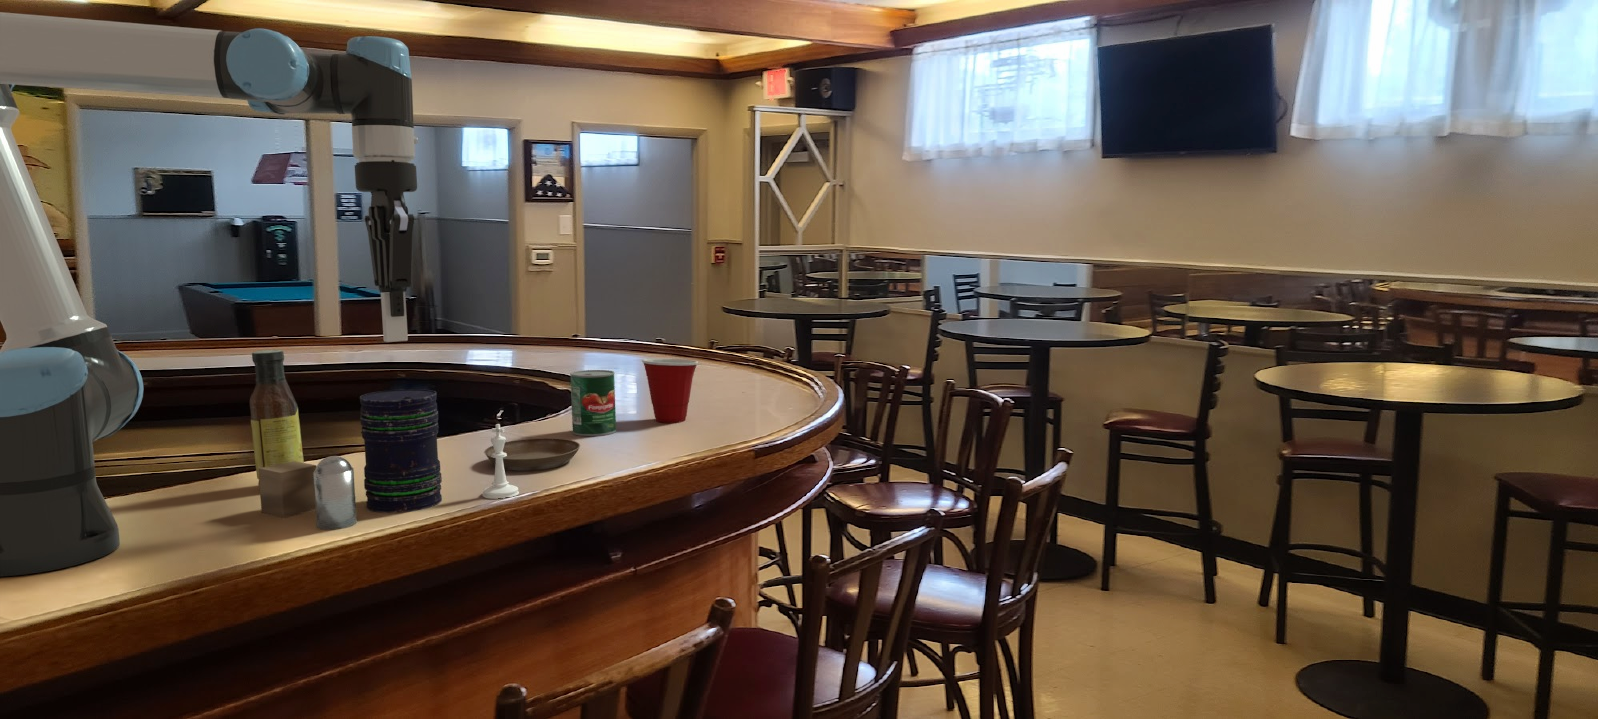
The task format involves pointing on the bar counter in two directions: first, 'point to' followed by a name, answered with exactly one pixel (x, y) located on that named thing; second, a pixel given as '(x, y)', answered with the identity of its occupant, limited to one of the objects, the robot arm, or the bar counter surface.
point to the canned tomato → (593, 402)
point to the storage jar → (401, 450)
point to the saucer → (536, 453)
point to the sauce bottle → (273, 413)
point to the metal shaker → (334, 494)
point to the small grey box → (287, 489)
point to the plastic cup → (670, 387)
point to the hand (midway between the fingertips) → (395, 340)
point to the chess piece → (499, 470)
